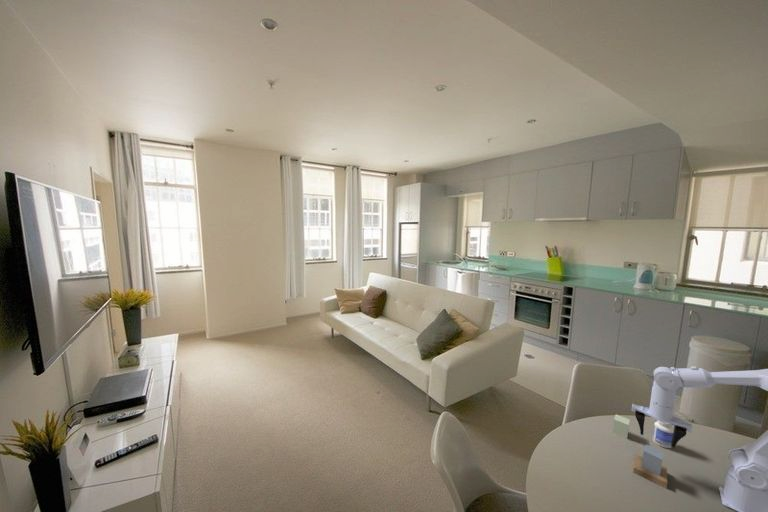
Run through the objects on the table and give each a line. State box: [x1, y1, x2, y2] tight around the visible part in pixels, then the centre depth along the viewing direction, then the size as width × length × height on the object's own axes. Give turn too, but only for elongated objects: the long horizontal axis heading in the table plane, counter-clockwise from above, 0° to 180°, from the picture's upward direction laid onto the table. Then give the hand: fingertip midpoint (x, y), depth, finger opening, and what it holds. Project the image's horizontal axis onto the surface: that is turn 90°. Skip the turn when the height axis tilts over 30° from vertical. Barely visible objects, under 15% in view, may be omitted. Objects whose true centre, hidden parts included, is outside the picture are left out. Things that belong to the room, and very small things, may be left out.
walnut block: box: [632, 453, 668, 490], centre depth 94 cm, size 8×8×2 cm
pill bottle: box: [652, 419, 674, 449], centre depth 107 cm, size 5×5×10 cm
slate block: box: [641, 444, 664, 476], centre depth 93 cm, size 4×4×6 cm
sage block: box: [612, 413, 631, 440], centre depth 112 cm, size 4×4×6 cm
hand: (656, 439), depth 95 cm, fingers open, 7 cm apart
